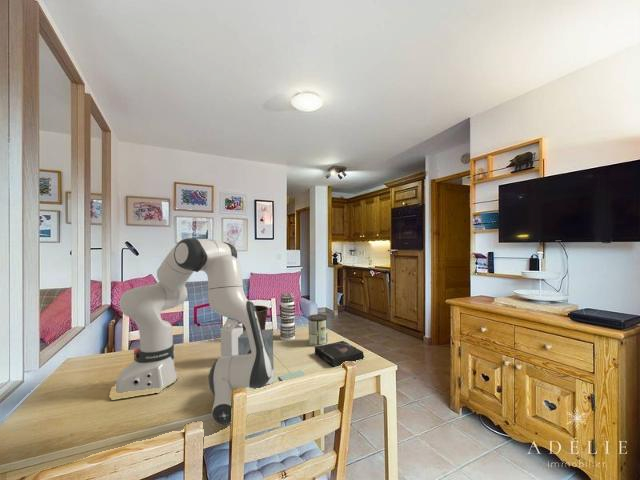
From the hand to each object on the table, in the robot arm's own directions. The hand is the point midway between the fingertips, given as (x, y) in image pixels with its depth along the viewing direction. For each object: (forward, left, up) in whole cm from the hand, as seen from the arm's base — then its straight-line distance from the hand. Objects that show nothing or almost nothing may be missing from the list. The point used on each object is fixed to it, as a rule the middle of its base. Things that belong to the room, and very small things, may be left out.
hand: (251, 368), depth 110 cm
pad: (+16, -6, -6) cm, 18 cm away
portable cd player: (+43, +4, -7) cm, 43 cm away
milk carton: (-2, +25, -6) cm, 26 cm away
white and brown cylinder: (+32, +41, -6) cm, 52 cm away
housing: (+4, +6, -6) cm, 9 cm away
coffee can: (+43, +25, -6) cm, 50 cm away
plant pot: (+16, +53, -6) cm, 56 cm away
